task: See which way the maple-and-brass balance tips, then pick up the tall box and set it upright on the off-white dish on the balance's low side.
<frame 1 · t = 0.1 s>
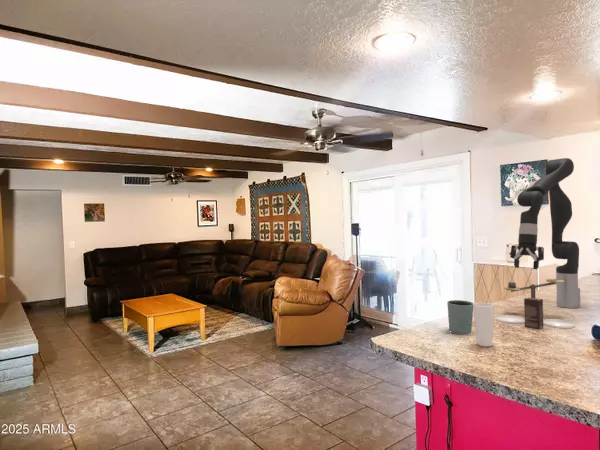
hand: (525, 268, 185), 23 cm above the countertop, tool pointing down, fingers open, 8 cm apart
green cup: (460, 331, 165), on the countertop
drinking glass 2: (484, 345, 147), on the countertop
box: (534, 327, 168), on the countertop
dish high side: (558, 324, 170), on the countertop
dish low side: (510, 320, 179), on the countertop
balance: (533, 315, 187), on the countertop
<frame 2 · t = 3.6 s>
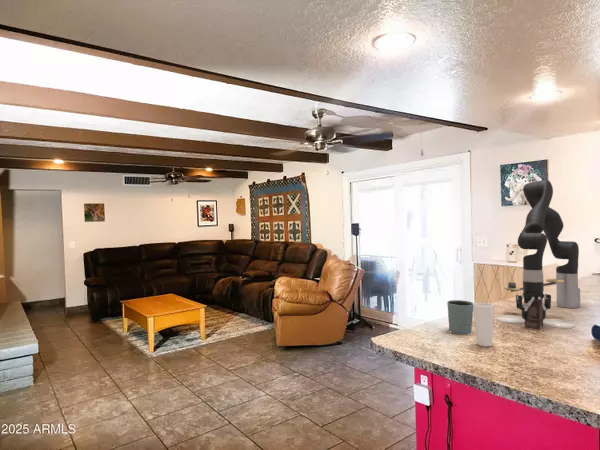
hand: (533, 319, 168), 3 cm above the countertop, tool pointing down, fingers closed on box, 6 cm apart
box: (534, 327, 168), on the countertop, touching gripper
everything else where it was.
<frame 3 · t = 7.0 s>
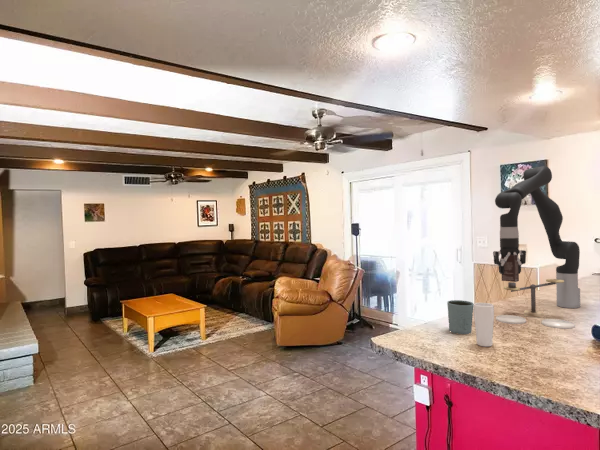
hand: (509, 273, 179), 21 cm above the countertop, tool pointing down, fingers closed on box, 6 cm apart
box: (510, 281, 179), point 18 cm above the countertop, touching gripper
everything else where it was.
when the fingers open (6 cm above the countertop, at t = 10.4 s): box drops 1 cm, resting on dish low side.
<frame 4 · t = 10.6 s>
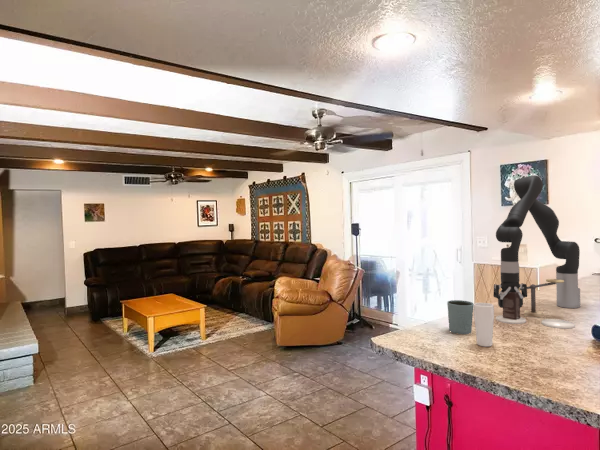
hand: (510, 307, 179), 6 cm above the countertop, tool pointing down, fingers open, 8 cm apart
box: (511, 318, 179), point 1 cm above the countertop, touching dish low side
everything else where it was.
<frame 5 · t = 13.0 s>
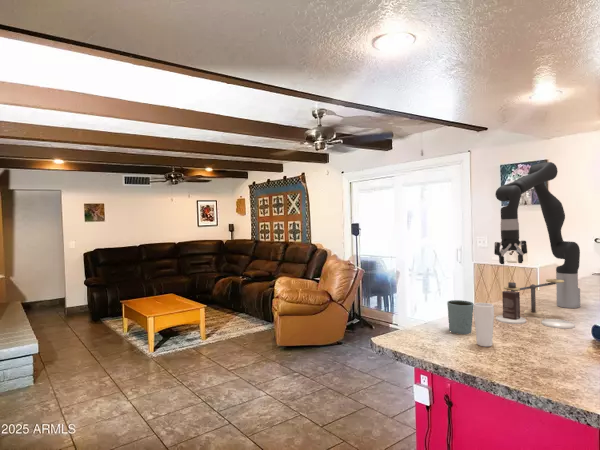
hand: (511, 263, 185), 25 cm above the countertop, tool pointing down, fingers open, 8 cm apart
nothing on the countertop moved.
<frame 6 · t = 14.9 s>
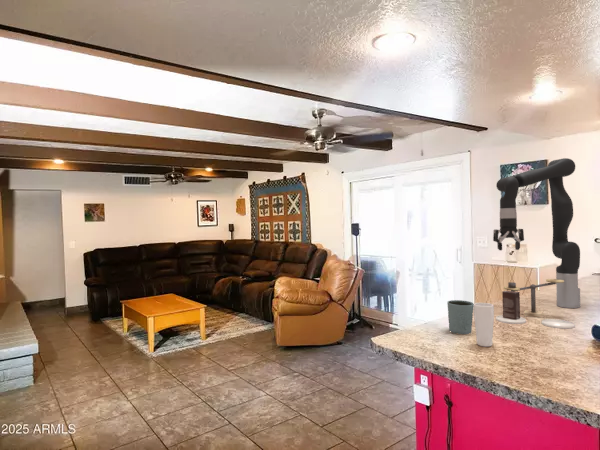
hand: (508, 250, 198), 30 cm above the countertop, tool pointing down, fingers open, 8 cm apart
nothing on the countertop moved.
at the end: box inside the target area on the dish low side (0.4 cm from its centre), point 0.8 cm above the dish low side's base; box tilted 0°; the gripper is holding nothing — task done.
